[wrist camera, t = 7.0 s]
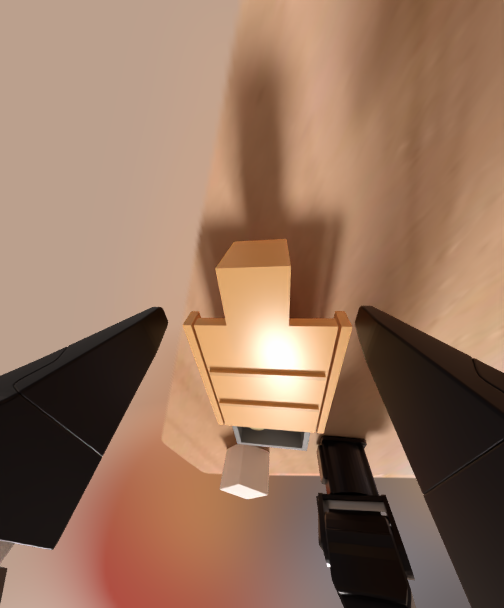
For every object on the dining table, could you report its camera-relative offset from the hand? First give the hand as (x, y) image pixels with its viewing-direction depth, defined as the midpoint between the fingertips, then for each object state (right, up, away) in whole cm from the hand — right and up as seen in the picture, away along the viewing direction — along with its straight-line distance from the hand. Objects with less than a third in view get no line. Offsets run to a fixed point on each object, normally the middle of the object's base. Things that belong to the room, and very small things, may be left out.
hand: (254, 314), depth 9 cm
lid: (+1, -4, +7) cm, 8 cm away
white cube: (-1, -28, +28) cm, 40 cm away
